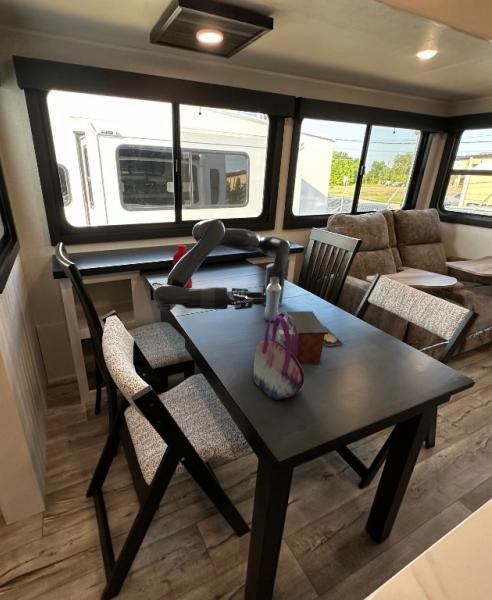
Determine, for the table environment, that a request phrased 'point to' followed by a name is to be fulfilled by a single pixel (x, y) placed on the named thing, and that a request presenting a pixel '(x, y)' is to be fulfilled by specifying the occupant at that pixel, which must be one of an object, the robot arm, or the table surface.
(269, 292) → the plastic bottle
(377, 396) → the table surface
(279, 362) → the handbag
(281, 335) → the piano key
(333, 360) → the table surface
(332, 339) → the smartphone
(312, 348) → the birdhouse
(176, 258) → the water bottle
